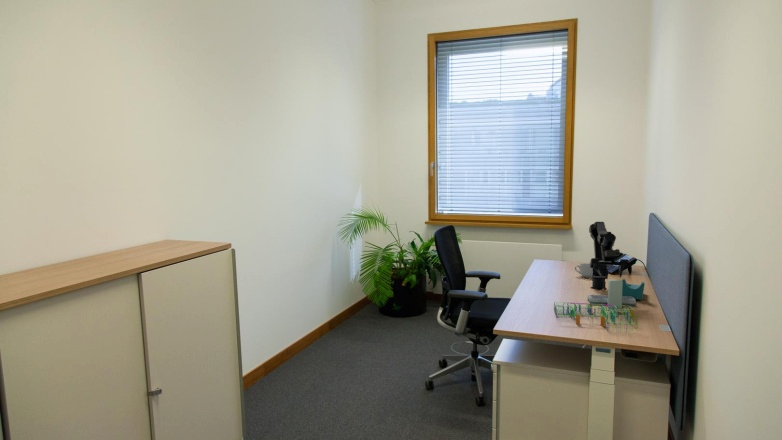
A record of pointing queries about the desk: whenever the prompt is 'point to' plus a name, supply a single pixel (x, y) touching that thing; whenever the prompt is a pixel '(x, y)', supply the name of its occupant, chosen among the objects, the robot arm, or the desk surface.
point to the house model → (603, 317)
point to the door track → (604, 300)
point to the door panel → (615, 293)
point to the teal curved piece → (633, 290)
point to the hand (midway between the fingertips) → (611, 276)
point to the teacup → (584, 270)
